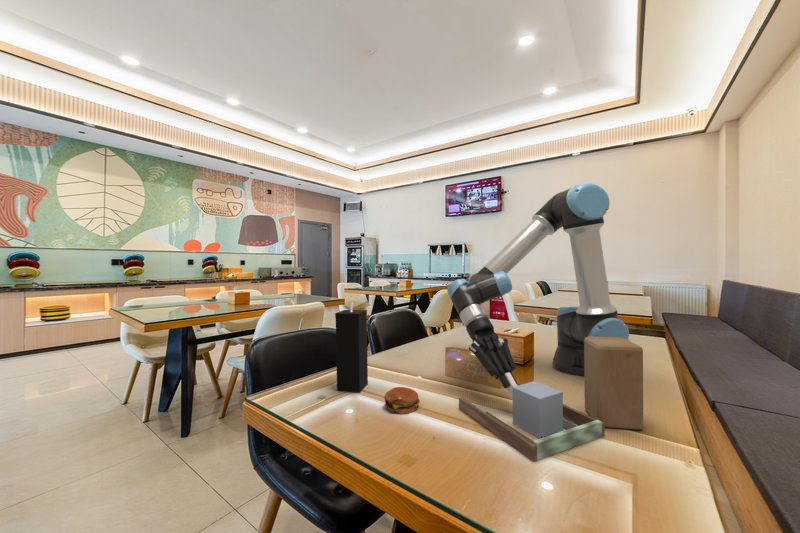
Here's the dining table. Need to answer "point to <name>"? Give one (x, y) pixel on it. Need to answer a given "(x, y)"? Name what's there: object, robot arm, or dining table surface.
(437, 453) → the dining table surface
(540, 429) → the slate block
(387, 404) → the burger
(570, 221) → the robot arm
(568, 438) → the u-shaped frame
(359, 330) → the black tall block
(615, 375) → the wooden block
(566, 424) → the pads
